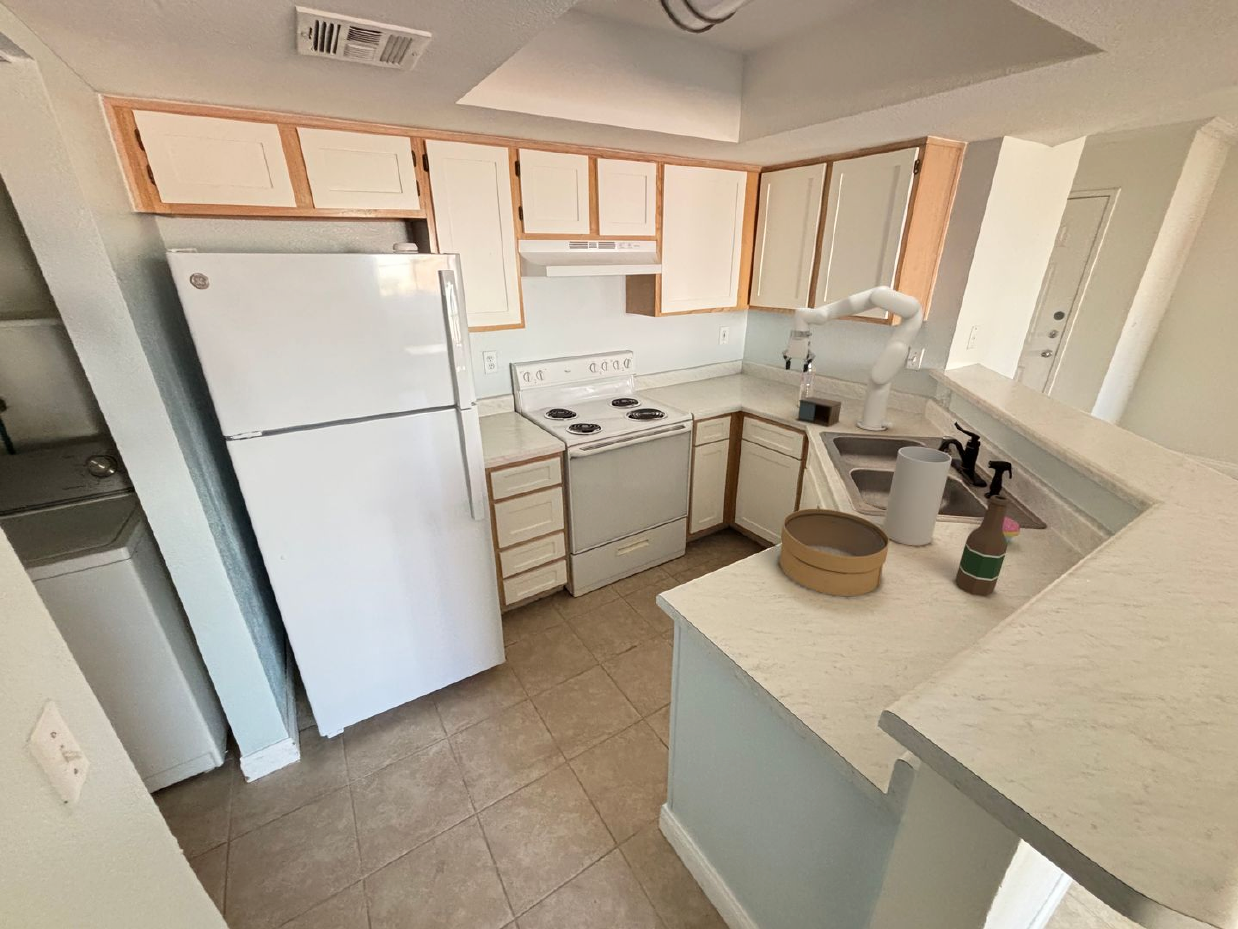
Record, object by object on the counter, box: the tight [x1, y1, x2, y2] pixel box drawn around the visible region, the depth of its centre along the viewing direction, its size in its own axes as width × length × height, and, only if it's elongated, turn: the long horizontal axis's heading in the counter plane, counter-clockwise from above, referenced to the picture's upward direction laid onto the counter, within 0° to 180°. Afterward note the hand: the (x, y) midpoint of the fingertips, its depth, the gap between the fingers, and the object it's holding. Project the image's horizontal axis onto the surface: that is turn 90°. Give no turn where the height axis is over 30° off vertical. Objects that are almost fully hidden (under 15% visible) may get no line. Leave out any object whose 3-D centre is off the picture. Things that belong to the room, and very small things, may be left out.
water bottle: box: [797, 361, 817, 408], centre depth 269 cm, size 7×7×25 cm
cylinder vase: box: [881, 446, 953, 547], centre depth 140 cm, size 12×12×25 cm
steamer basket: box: [779, 508, 890, 597], centre depth 127 cm, size 25×25×11 cm
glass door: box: [797, 391, 816, 421], centre depth 247 cm, size 1×8×14 cm, turn 44°
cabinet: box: [796, 396, 842, 428], centre depth 248 cm, size 12×16×10 cm
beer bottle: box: [955, 494, 1011, 597], centre depth 117 cm, size 8×8×24 cm
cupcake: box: [1003, 516, 1021, 543], centre depth 139 cm, size 9×8×12 cm
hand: (796, 370), depth 246 cm, fingers open, 8 cm apart
